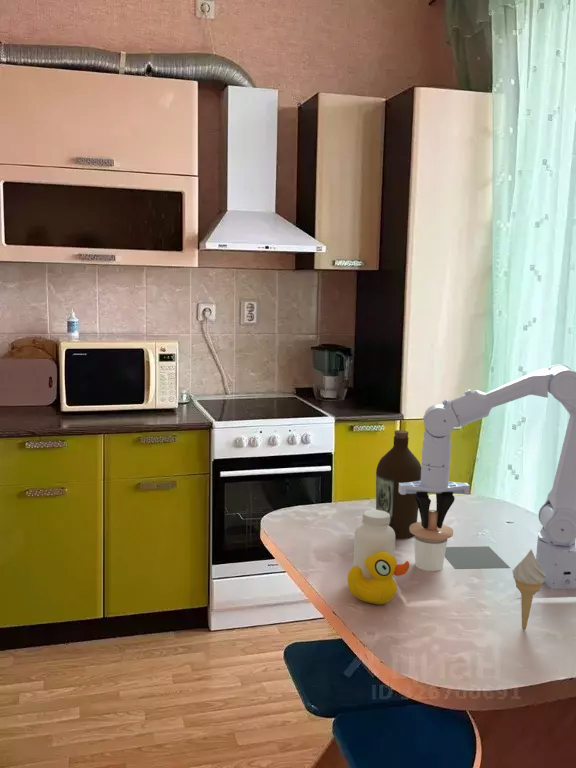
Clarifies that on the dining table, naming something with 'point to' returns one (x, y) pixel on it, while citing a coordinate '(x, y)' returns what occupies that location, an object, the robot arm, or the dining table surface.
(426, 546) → the white cup
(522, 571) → the ice cream cone
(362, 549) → the pill bottle
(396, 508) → the olive oil
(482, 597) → the dining table surface
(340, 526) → the dining table surface
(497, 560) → the mat
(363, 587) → the duckling
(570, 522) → the robot arm
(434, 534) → the lid
